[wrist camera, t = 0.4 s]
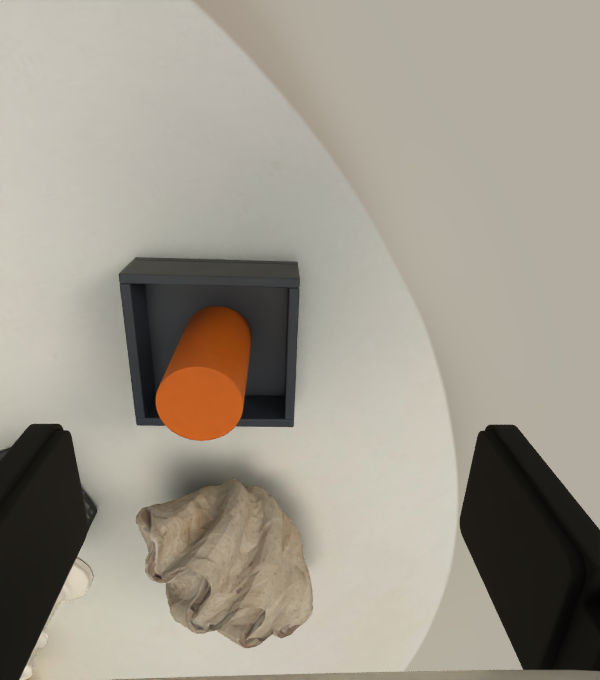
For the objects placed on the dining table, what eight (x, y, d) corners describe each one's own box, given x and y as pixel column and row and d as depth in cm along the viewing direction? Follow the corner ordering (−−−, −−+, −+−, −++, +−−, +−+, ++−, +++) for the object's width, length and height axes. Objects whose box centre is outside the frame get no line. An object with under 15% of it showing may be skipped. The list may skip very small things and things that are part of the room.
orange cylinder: (183, 304, 31) (151, 365, 23) (251, 306, 31) (242, 367, 23) (187, 365, 33) (159, 440, 25) (251, 366, 33) (243, 441, 25)
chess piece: (98, 591, 42) (49, 720, 33) (42, 596, 42) (-22, 726, 33) (85, 551, 40) (28, 677, 31) (26, 556, 40) (-48, 683, 31)
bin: (135, 257, 30) (118, 273, 27) (297, 261, 31) (299, 278, 27) (149, 396, 34) (136, 425, 31) (292, 398, 35) (293, 427, 32)
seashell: (269, 423, 36) (266, 526, 27) (321, 560, 42) (333, 681, 33) (141, 458, 37) (96, 569, 27) (210, 587, 43) (192, 713, 34)
